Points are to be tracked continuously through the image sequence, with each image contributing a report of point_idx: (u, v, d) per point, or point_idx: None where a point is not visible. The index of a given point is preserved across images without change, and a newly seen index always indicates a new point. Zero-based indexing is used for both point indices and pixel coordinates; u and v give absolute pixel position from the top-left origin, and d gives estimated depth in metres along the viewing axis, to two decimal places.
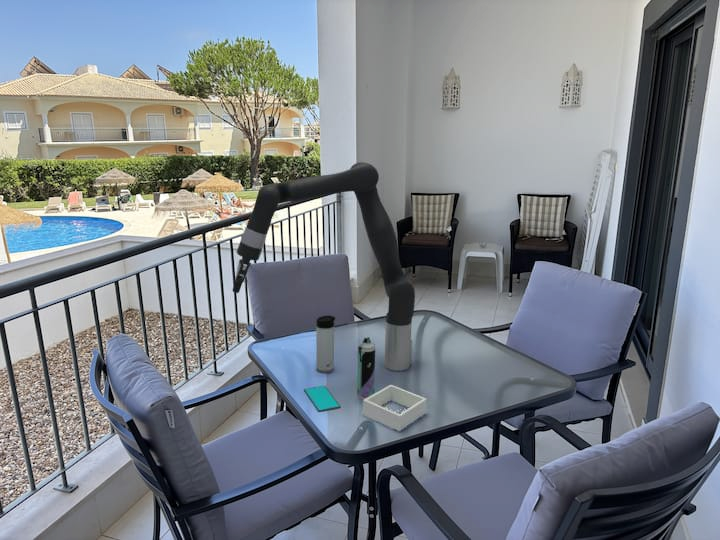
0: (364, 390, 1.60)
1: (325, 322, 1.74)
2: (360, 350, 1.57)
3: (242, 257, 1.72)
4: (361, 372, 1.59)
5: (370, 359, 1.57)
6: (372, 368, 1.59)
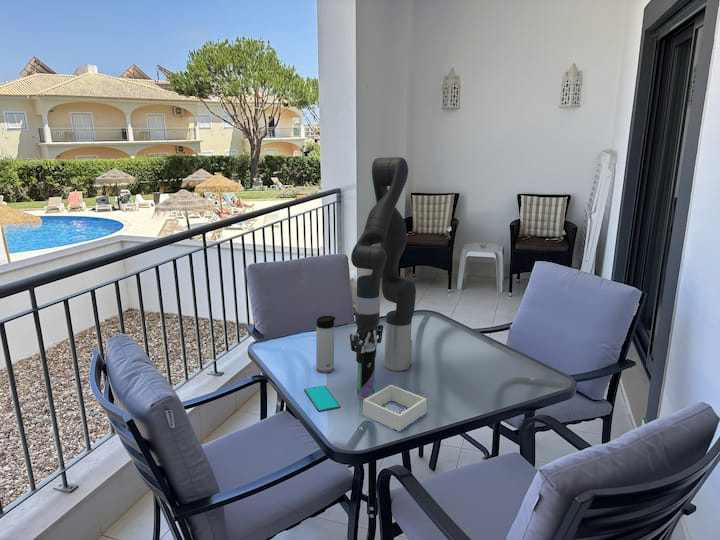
0: (364, 390, 1.60)
1: (325, 322, 1.74)
2: None
3: (358, 337, 1.53)
4: (361, 372, 1.59)
5: (370, 359, 1.57)
6: (372, 368, 1.59)
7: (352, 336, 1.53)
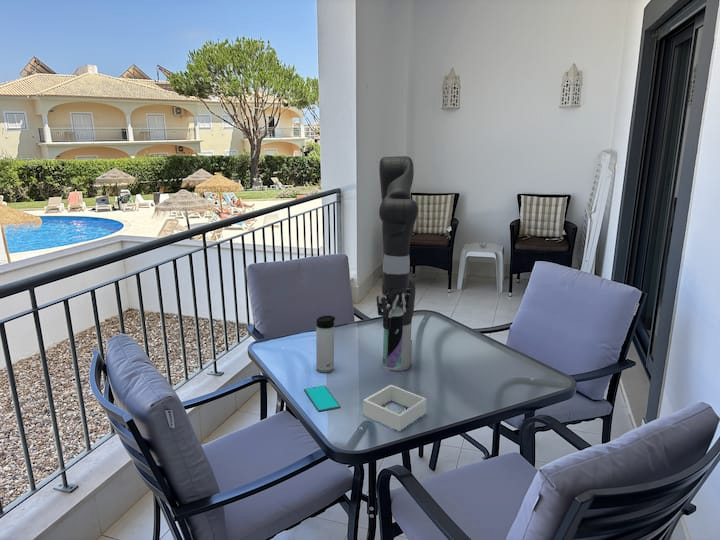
0: (390, 359, 1.46)
1: (325, 322, 1.74)
2: None
3: (385, 300, 1.39)
4: (387, 340, 1.45)
5: (398, 325, 1.44)
6: (400, 335, 1.45)
7: (379, 298, 1.39)
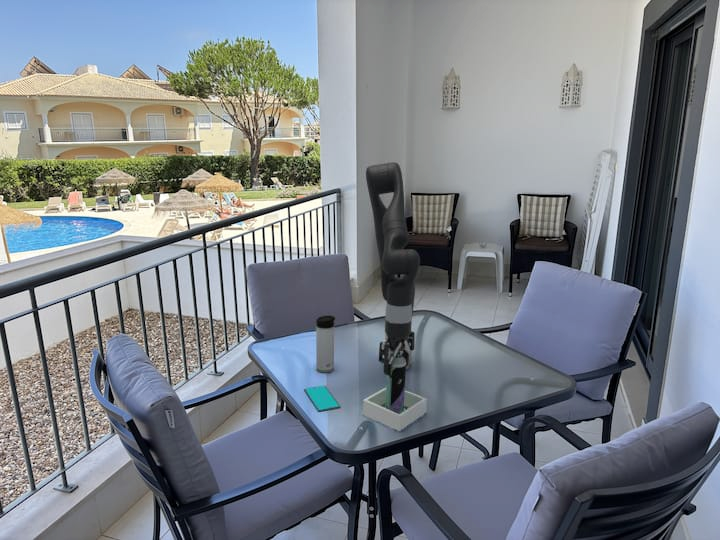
0: (393, 408, 1.49)
1: (325, 322, 1.74)
2: None
3: (388, 346, 1.41)
4: (390, 389, 1.48)
5: (401, 375, 1.46)
6: (402, 384, 1.48)
7: (382, 344, 1.41)
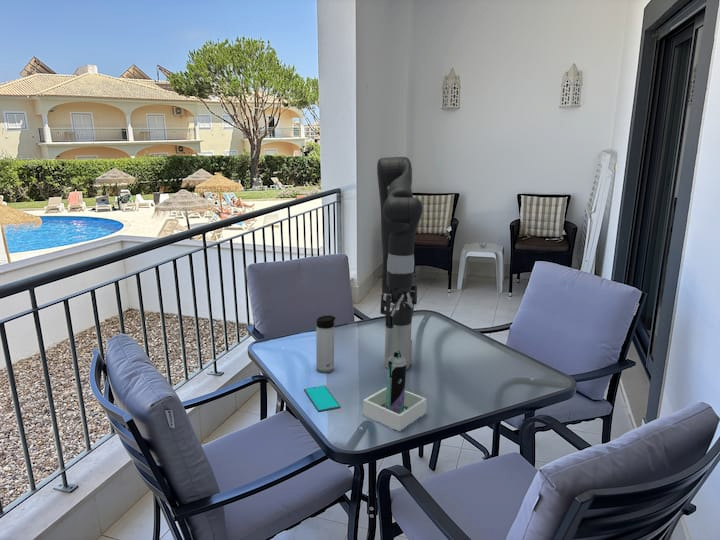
0: (393, 408, 1.49)
1: (325, 322, 1.74)
2: (390, 365, 1.46)
3: (390, 297, 1.38)
4: (390, 389, 1.48)
5: (401, 375, 1.47)
6: (403, 384, 1.48)
7: (384, 295, 1.38)
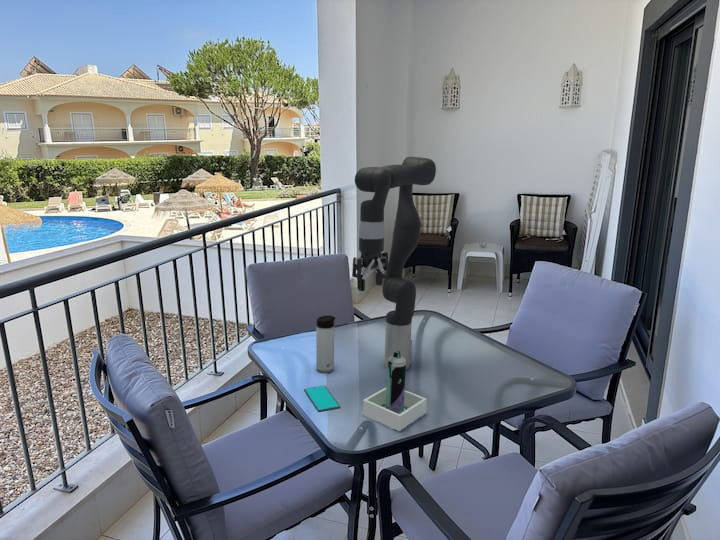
0: (393, 408, 1.49)
1: (325, 322, 1.74)
2: (390, 365, 1.46)
3: (361, 261, 1.48)
4: (390, 389, 1.48)
5: (401, 375, 1.46)
6: (402, 384, 1.48)
7: (356, 259, 1.48)
